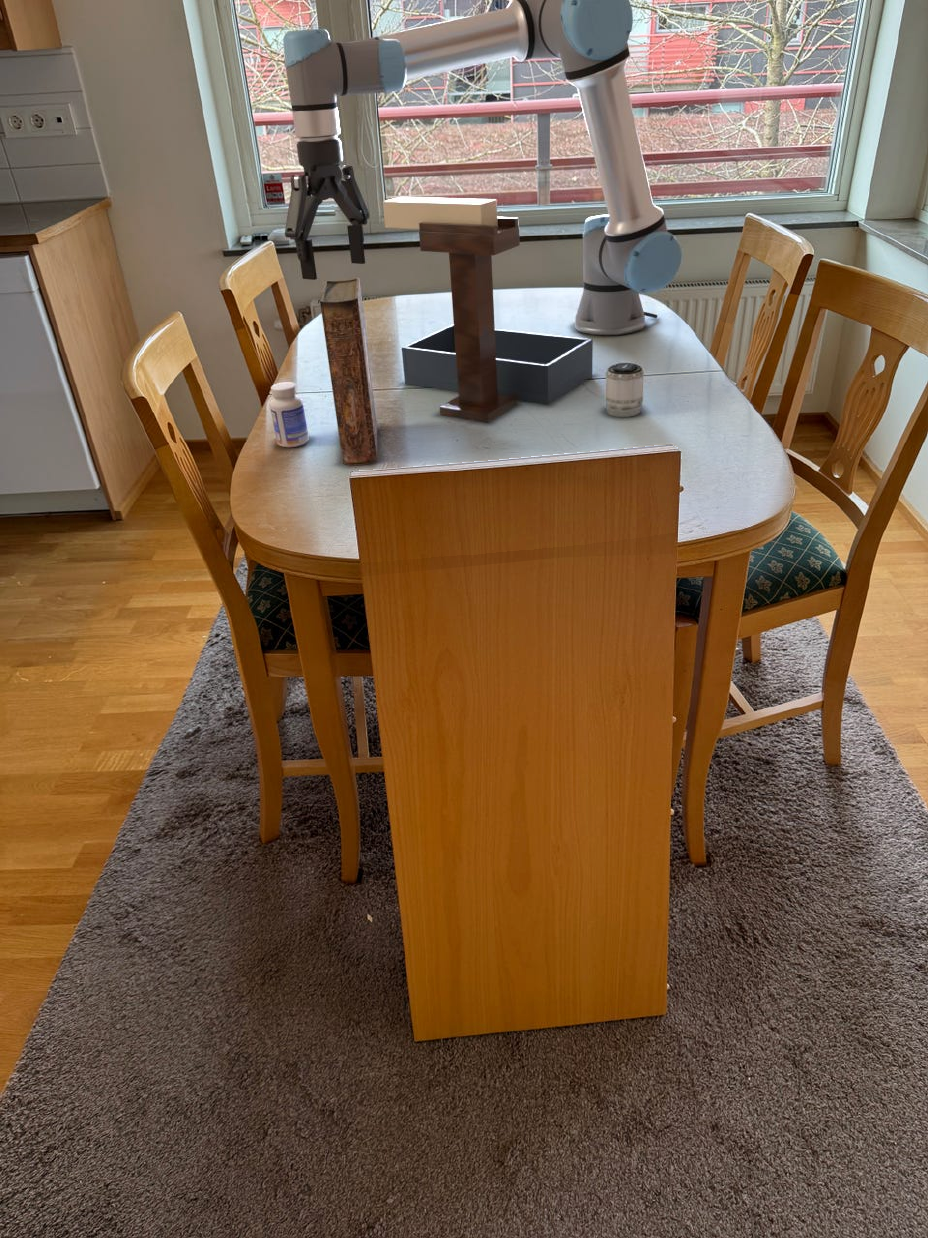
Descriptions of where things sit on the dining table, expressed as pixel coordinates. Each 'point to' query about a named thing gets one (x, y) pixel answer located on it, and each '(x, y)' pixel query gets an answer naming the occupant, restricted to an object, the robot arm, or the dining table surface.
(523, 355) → the bin
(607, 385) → the camera lens
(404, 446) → the dining table surface
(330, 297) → the book
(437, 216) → the carton
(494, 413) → the stand
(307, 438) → the pill bottle
